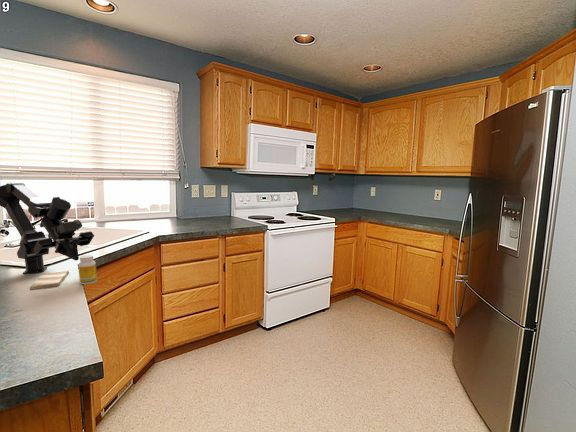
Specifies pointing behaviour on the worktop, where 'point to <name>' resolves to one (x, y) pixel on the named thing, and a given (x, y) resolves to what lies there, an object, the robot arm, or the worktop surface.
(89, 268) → the supplement bottle
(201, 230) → the worktop surface
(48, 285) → the beige rectangular board
